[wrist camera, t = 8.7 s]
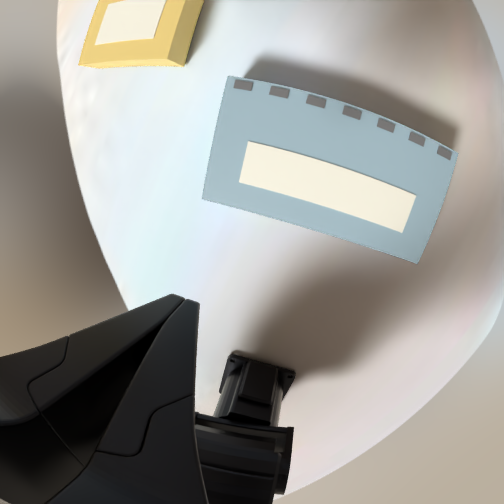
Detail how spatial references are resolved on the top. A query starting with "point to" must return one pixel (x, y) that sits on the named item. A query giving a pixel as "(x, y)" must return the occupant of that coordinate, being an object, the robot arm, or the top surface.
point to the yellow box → (140, 33)
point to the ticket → (327, 167)
